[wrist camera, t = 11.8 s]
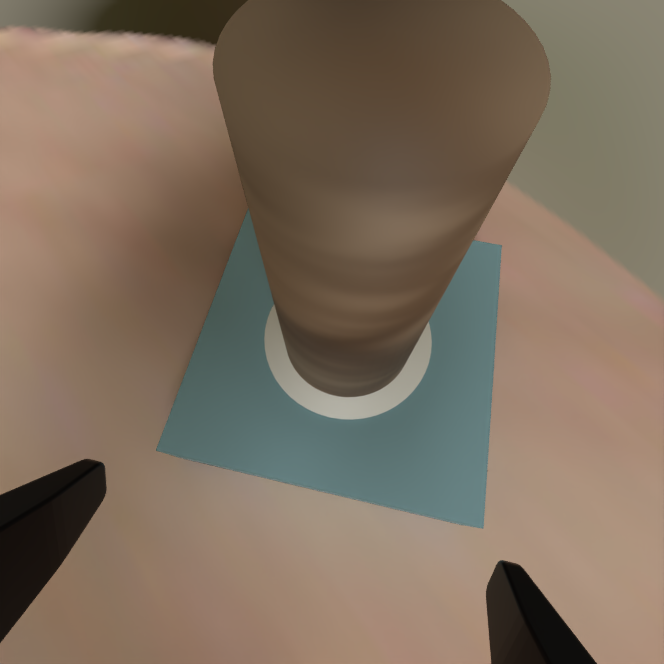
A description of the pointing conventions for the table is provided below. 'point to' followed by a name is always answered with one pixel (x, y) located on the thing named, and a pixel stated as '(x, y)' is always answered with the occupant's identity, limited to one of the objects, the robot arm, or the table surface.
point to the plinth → (346, 399)
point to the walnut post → (372, 161)
